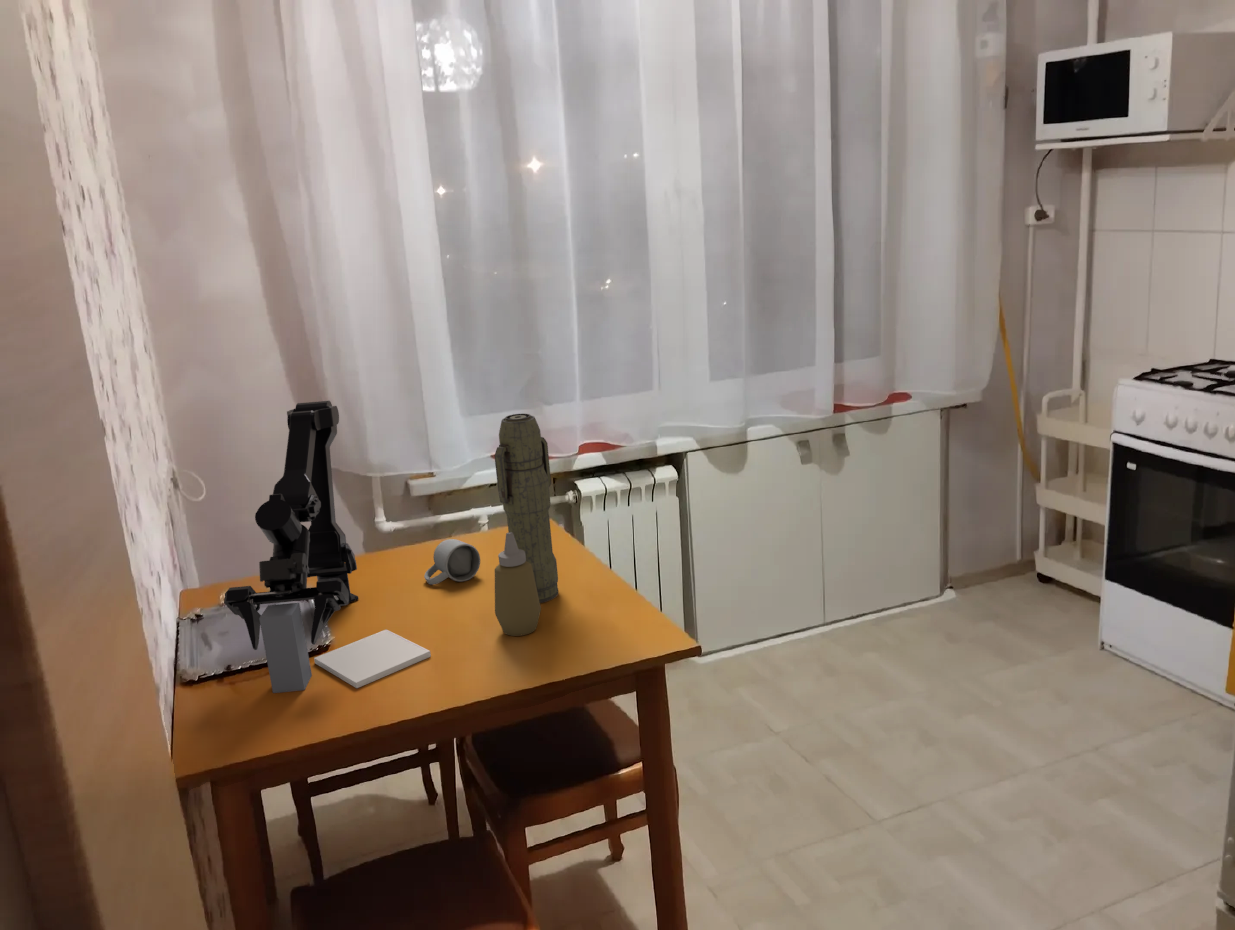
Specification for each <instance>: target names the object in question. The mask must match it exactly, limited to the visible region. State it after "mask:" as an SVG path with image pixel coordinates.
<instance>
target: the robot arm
mask: <svg viewBox="0 0 1235 930" xmlns="http://www.w3.org/2000/svg"><path fill="white" fill-rule="evenodd" d="M286 415H287V418H286V419H287V421H286V422H287V427H288V428H287V429H288V437H287V444H286V445H287V446H286V451H285V452H286V453H285V459H284V460H285V462H284V469H283V470H284V471H283V475H282V477H281V478H280V479H279V480H278V481H277V482H276V483H275V484H274V486H273V492H272V494H269V497H268V500H267V501H265V502H264V503H262V504H261V505H260V506H259V507H258V509H257V511H256V512H255V513H254V514H255V515H254V519H255V523H256V524H257V526H258V528H259V529H260V530H261V532H262V533H263V534H264V536H265V537H266V539H267V540H268V541H269V543H271V544H273V547H272V556H270V557H269V560H262V561H259V562H258V563H259V564H258V565H259V581H260V582H261V583H262V582H264V583H263V584H264V587H265V588H266V589H269V591H259V592H256V591H255V589H254V588H253V587H252V586H251V585H244V586H243V585H242V586H235V587H229V588H228V589H227V590H226V592H225V593H224V597H223V598H224V599H223V604H225V606H226V607H227V608H228V609H229V610H230V612H231V613H232V614H234V615H236V616H239V617H240V618H241V619H242V620H244V623H245V625H246V629H247V632H248V636H249V639H250V640H249V641H250V642H251V646H252V649H253V650H254V651H256V650H258V649H259V648H258V647H259V642H260V633H261V631H260V630H261V625H260V620H259V618H260V616H261V615H262V614H261V613H260V612H258V611H260V609H261V605H266V604H267V605H269V604H270V605H271V604H278V603H279V604H281V603H289V602H291V603H292V602H299V601H300V602H301V601H310V600H313V603H314V611H313V617H312V618H313V619H312V626H311V632H310V634H311V637H310V638H311V639H310V642H311V644H312V645H316V644H317V642H318V639H319V638H320V636H321V634H322V632H323V630H324V628H325V626H326V625H327V623H328V621H330V619H331V618H332V617H333V614H334V613H335V612H337V611H340V610H341V607H342V606H347V605H349V603H352V602H355V601H358V600H359V599H360V598H359V596H358V595H356V594H354V593H352V592H351V588H350V582H349V581H350V580H349V575H350V574H352V573H353V572H355V571H357V570H358V567H357V566H358V565H357V560H356V555H355V553H354V551H353V550H352V547H351V546H350V545H349V543H348V542H347V536H346V533H345V532H344V531H343V529H342V528H341V527H340V526H339V524H338V523H337V521H336V519H337V518H336V509H335V498H334V497H335V496H334V484H333V473H332V472H333V469H332V460H331V459H332V458H331V457H332V456H331V445H332V444H333V442H334V440H335V438H336V436H337V435H338V424H339V423H340V422H339V421H340V413H339V408H338V406H337V405H333V404H332V402H331V401H330V400H319V401H310V402H298V403H296V405H295V408H293V409H290V410H287V411H286ZM308 522H310V526H309V527H308V528H307V527H306V525H303V524H302V523H308ZM314 577H316V579H317V581H316V586H315V587H307V585H308V584H307V583H308V578H314Z"/></svg>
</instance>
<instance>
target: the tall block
mask: <svg viewBox="0 0 1235 930" xmlns="http://www.w3.org/2000/svg"><path fill="white" fill-rule="evenodd" d="M260 615H261V616H260V618H259V620H260V630H261V631H260V632H261V635H262V640H263V647H264V651H265V652H264V653H265V657H266V663H267V669H268V673H269V678H270V679H269V680H270V685H271V690H272V694H276V693H277V694H279V693H288V692H296V691H297V692H298V691H305V690H306V688H307V686H308V684H309V682H310V680H311V677H312V676H313V675H312V669H311V667H312V666H311V662H310V656H309V652H308V645H307V640H306V634H305V632H306V631H305V627H304V622H303V615H302V609H301V604H300V602H291V603H289V602H288V603H282V604H281V603H279V604H278V603H277V604H270V605H269V604H267V606H266V608H265V609H264V611H262V614H260Z"/></svg>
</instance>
